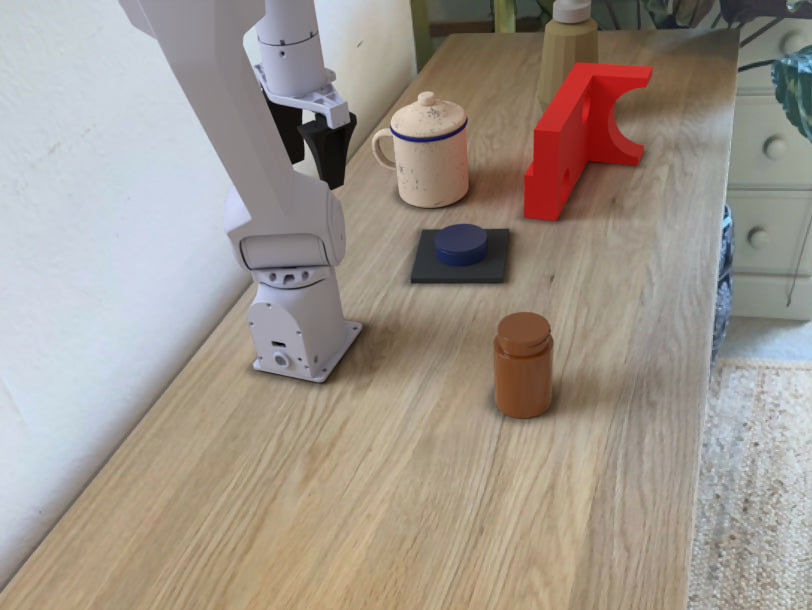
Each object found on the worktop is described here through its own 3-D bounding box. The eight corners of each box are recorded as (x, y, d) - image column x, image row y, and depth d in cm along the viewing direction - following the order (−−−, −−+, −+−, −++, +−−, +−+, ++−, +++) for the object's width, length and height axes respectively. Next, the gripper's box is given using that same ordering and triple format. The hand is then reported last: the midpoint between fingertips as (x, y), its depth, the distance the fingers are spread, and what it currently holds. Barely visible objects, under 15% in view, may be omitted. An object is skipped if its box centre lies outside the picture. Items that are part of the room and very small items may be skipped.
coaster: (502, 282, 91) (502, 278, 91) (410, 283, 93) (410, 278, 92) (508, 233, 98) (508, 228, 97) (422, 234, 99) (422, 229, 99)
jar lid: (483, 235, 97) (482, 220, 96) (492, 262, 93) (492, 246, 92) (432, 242, 97) (431, 227, 95) (439, 270, 93) (438, 254, 92)
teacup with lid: (479, 176, 107) (476, 79, 98) (458, 213, 102) (452, 113, 93) (390, 169, 111) (379, 74, 102) (364, 204, 105) (351, 107, 96)
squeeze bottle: (525, 118, 117) (527, -33, 103) (576, 102, 119) (584, -48, 105) (556, 140, 112) (562, -16, 98) (609, 123, 113) (622, -32, 100)
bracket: (567, 61, 103) (653, 66, 100) (564, 146, 110) (643, 153, 107) (524, 129, 92) (618, 136, 89) (523, 217, 100) (610, 227, 97)
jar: (545, 422, 76) (548, 348, 70) (489, 414, 78) (486, 342, 72) (556, 384, 80) (559, 311, 74) (501, 378, 81) (500, 306, 75)
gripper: (367, 39, 76) (385, 184, 87) (283, 3, 84) (309, 139, 95) (301, 65, 74) (327, 210, 84) (221, 24, 82) (254, 162, 92)
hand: (314, 174), depth 89 cm, fingers open, 7 cm apart
